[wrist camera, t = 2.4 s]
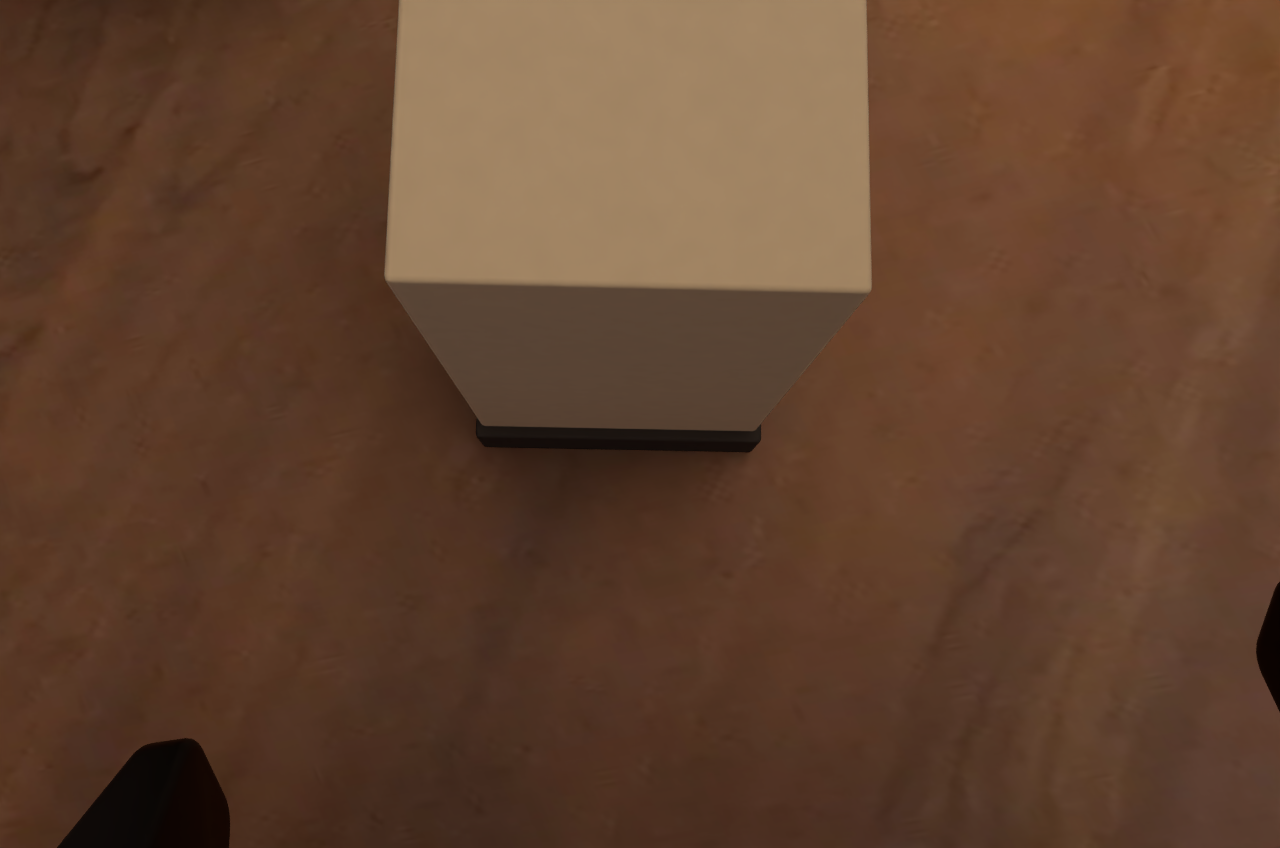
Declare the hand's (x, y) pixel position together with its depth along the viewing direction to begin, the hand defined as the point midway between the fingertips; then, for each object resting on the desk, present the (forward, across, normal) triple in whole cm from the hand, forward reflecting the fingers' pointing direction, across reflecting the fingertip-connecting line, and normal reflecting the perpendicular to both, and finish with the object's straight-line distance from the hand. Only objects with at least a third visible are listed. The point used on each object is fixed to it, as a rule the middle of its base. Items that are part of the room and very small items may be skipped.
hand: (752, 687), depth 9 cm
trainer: (+16, 0, +3) cm, 16 cm away
